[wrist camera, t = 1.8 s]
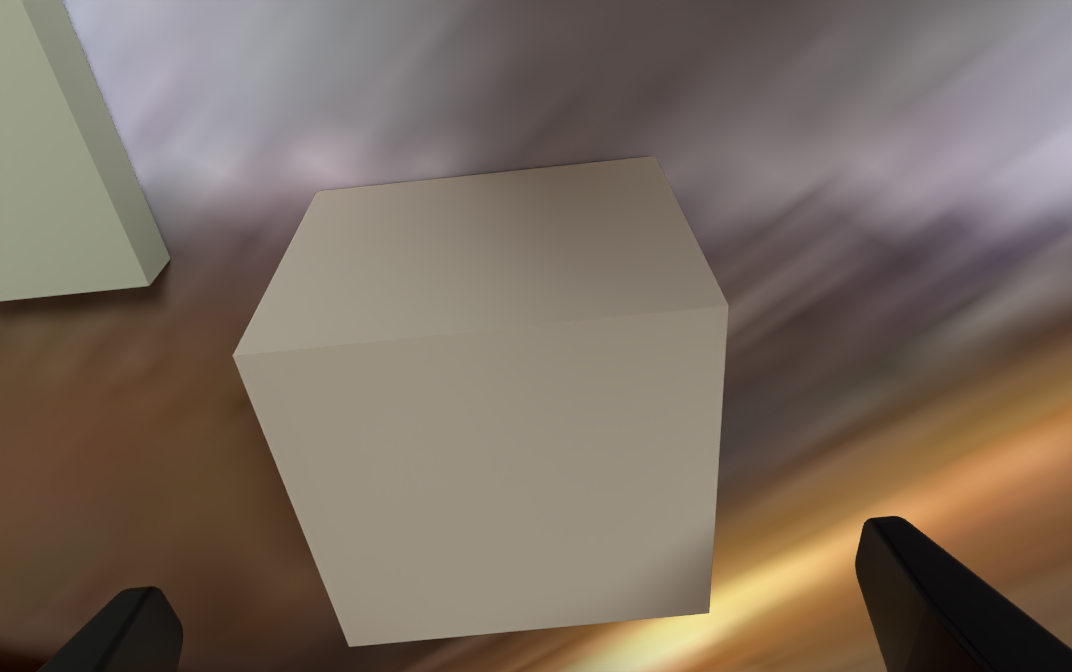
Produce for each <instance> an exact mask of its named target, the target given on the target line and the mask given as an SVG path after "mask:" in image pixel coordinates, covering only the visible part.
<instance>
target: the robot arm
mask: <svg viewBox="0 0 1072 672" xmlns="http://www.w3.org/2000/svg"><path fill="white" fill-rule="evenodd" d="M855 569H856V575H857V579H858V583H859V586H860V589H861V592H862V595H863V598H864V601H865V604H866V607H867V610H868V613H869V616H870V620H871V623H872V626H873V629H874V632H875V635H876V638H877V641H878V644H879V647H880V650H881V653H882V656H883V660H884V663H885V666H886V669H887V672H1072V649H1071V648H1070V647H1068V646H1067V645H1066V644H1064V643H1063V642H1062V641H1061V640H1059V639H1058V638H1057V637H1055V636H1054V635H1053V634H1052V633H1050V632H1049V631H1048V630H1046V629H1045V628H1044V627H1043V626H1041V625H1040V624H1039V623H1037V622H1036V621H1035V620H1034V619H1032V618H1031V617H1030V616H1029V615H1027V614H1026V613H1025V612H1023V611H1022V610H1021V609H1020V608H1018V607H1017V606H1016V605H1014V604H1013V603H1012V602H1011V601H1009V600H1008V599H1007V598H1005V597H1004V596H1003V595H1002V594H1000V593H999V592H998V591H996V590H995V589H994V588H993V587H991V586H990V585H989V584H987V583H986V582H985V581H984V580H982V579H981V578H980V577H979V576H977V575H976V574H975V573H973V572H972V571H971V570H970V569H968V568H967V567H966V566H964V565H963V564H962V563H961V562H959V561H958V560H957V559H955V558H954V557H953V556H952V555H950V554H949V553H948V552H946V551H945V550H944V549H943V548H941V547H940V546H939V545H938V544H936V543H935V542H934V541H932V540H931V539H930V538H929V537H927V536H926V535H925V534H923V533H922V532H921V531H920V530H918V529H917V528H916V527H914V526H913V525H912V524H911V523H909V522H908V521H907V520H905V519H903V518H901V517H898V516H888V517H877V518H870V519H868V520H867V521H866V522H865V523H864V525H863V529H862V533H861V538H860V542H859V546H858V551H857V555H856V560H855ZM182 643H183V629H182V625H181V622H180V620H179V619H178V617H177V615H176V614H175V612H174V610H173V609H172V607H171V605H170V604H169V602H168V600H167V599H166V597H165V595H164V594H163V592H162V591H161V590H160V589H159V588H157V587H154V586H149V587H138V588H129V589H126V590H123V591H122V592H120V593H119V594H117V595H116V596H115V597H114V598H113V599H112V600H111V601H110V602H109V603H108V604H107V605H106V606H105V607H104V608H103V609H102V610H100V611H99V612H98V613H97V614H96V615H95V616H94V617H93V618H92V619H91V620H90V621H89V622H88V623H87V624H86V625H85V626H84V627H83V628H82V629H81V630H80V631H79V632H78V633H76V634H75V635H74V636H73V637H72V638H71V639H70V640H69V641H68V642H67V643H66V644H65V645H64V646H63V647H62V648H61V649H60V650H59V651H58V652H57V653H56V654H55V655H54V656H52V657H51V658H50V659H49V660H48V661H47V662H46V663H45V664H44V665H43V666H42V667H41V668H40V669H39V670H38V671H37V672H177V668H178V663H179V658H180V653H181V648H182Z"/></svg>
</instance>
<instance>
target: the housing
mask: <svg viewBox="0 0 1072 672" xmlns="http://www.w3.org/2000/svg"><path fill="white" fill-rule="evenodd" d="M727 320H728V304H727V302H726V300H725V298H724V296H723V294H722V292H721V290H720V287H719V285H718V283H717V281H716V279H715V277H714V275H713V273H712V271H711V269H710V267H709V265H708V263H707V261H706V259H705V257H704V255H703V253H702V251H701V249H700V247H699V245H698V242H697V240H696V238H695V236H694V234H693V232H692V230H691V228H690V226H689V224H688V222H687V220H686V218H685V216H684V214H683V212H682V210H681V208H680V206H679V204H678V202H677V200H676V197H675V195H674V193H673V191H672V189H671V187H670V185H669V183H668V181H667V179H666V177H665V175H664V173H663V171H662V169H661V167H660V165H659V163H658V161H657V159H656V157H655V156H649V157H640V158H630V159H621V160H611V161H602V162H592V163H583V164H573V165H564V166H554V167H545V168H535V169H526V170H516V171H507V172H497V173H487V174H478V175H468V176H459V177H449V178H440V179H430V180H421V181H411V182H402V183H392V184H383V185H373V186H364V187H354V188H345V189H335V190H326V191H317V192H316V194H315V196H314V198H313V200H312V202H311V204H310V206H309V208H308V210H307V212H306V214H305V216H304V218H303V219H302V221H301V223H300V225H299V227H298V229H297V231H296V233H295V235H294V237H293V239H292V241H291V243H290V245H289V247H288V249H287V251H286V253H285V255H284V257H283V259H282V261H281V262H280V264H279V266H278V268H277V270H276V272H275V274H274V276H273V278H272V280H271V282H270V284H269V286H268V288H267V290H266V292H265V294H264V296H263V298H262V300H261V302H260V304H259V305H258V307H257V309H256V311H255V313H254V315H253V317H252V319H251V321H250V323H249V325H248V327H247V329H246V331H245V333H244V335H243V337H242V339H241V341H240V343H239V345H238V347H237V348H236V350H235V352H234V354H233V358H234V360H235V363H236V365H237V368H238V370H239V373H240V375H241V378H242V380H243V383H244V385H245V388H246V390H247V393H248V395H249V398H250V400H251V403H252V405H253V408H254V410H255V413H256V415H257V418H258V420H259V423H260V425H261V428H262V430H263V433H264V435H265V438H266V440H267V443H268V445H269V448H270V450H271V453H272V455H273V458H274V460H275V463H276V465H277V468H278V470H279V473H280V475H281V478H282V480H283V483H284V485H285V488H286V490H287V493H288V495H289V498H290V500H291V503H292V505H293V508H294V510H295V513H296V515H297V518H298V520H299V523H300V525H301V528H302V530H303V533H304V535H305V538H306V540H307V543H308V545H309V548H310V550H311V553H312V555H313V558H314V560H315V563H316V565H317V568H318V570H319V573H320V575H321V578H322V580H323V583H324V585H325V588H326V590H327V593H328V595H329V598H330V600H331V603H332V605H333V608H334V610H335V613H336V615H337V618H338V620H339V623H340V625H341V628H342V630H343V633H344V635H345V638H346V640H347V643H348V645H349V647H353V646H364V645H374V644H385V643H396V642H406V641H417V640H428V639H438V638H449V637H460V636H470V635H481V634H492V633H502V632H513V631H524V630H534V629H545V628H556V627H566V626H577V625H587V624H598V623H609V622H619V621H630V620H641V619H651V618H662V617H673V616H683V615H694V614H705V613H709V608H710V592H711V576H712V560H713V544H714V528H715V512H716V496H717V480H718V464H719V448H720V432H721V416H722V400H723V384H724V368H725V352H726V336H727Z"/></svg>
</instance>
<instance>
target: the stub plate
mask: <svg viewBox="0 0 1072 672" xmlns="http://www.w3.org/2000/svg"><path fill="white" fill-rule="evenodd" d="M169 260H170V256H169V254H168V252H167V249H166V247H165V244H164V242H163V240H162V237H161V235H160V233H159V230H158V228H157V225H156V223H155V221H154V218H153V216H152V213H151V211H150V209H149V206H148V204H147V202H146V199H145V197H144V194H143V192H142V190H141V187H140V185H139V183H138V180H137V178H136V175H135V173H134V171H133V168H132V166H131V164H130V161H129V159H128V156H127V154H126V152H125V149H124V147H123V145H122V142H121V140H120V137H119V135H118V133H117V130H116V128H115V125H114V123H113V121H112V118H111V116H110V114H109V111H108V109H107V106H106V104H105V102H104V99H103V97H102V95H101V92H100V90H99V87H98V85H97V83H96V80H95V78H94V76H93V73H92V71H91V68H90V66H89V64H88V61H87V59H86V56H85V54H84V52H83V49H82V47H81V45H80V42H79V40H78V37H77V35H76V33H75V30H74V28H73V26H72V23H71V21H70V18H69V16H68V14H67V11H66V9H65V7H64V4H63V2H62V0H0V301H8V300H18V299H27V298H37V297H47V296H56V295H66V294H76V293H85V292H95V291H105V290H115V289H124V288H134V287H144V286H150V284H151V283H152V282H153V281H154V279H155V278H156V277H157V275H158V274H159V273H160V272H161V270H162V269H163V268H164V266H165V265H166V264H167V263H168V261H169Z"/></svg>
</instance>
